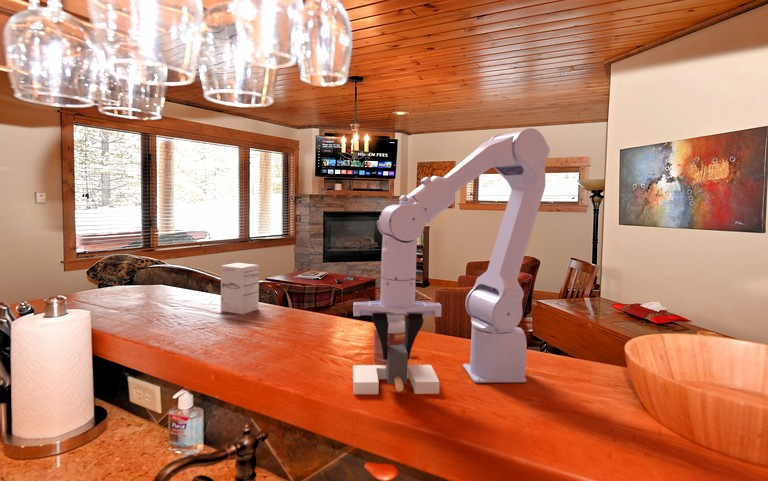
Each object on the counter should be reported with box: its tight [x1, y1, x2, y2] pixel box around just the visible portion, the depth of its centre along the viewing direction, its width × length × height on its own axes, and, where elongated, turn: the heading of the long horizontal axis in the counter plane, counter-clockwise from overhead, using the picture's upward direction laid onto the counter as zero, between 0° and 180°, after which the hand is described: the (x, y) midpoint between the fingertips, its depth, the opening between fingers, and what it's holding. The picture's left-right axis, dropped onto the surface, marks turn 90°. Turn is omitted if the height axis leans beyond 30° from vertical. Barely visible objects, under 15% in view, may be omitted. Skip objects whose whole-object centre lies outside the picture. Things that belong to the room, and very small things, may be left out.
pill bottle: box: [373, 315, 405, 365], centre depth 85 cm, size 6×6×11 cm
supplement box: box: [220, 262, 260, 315], centre depth 123 cm, size 7×7×13 cm
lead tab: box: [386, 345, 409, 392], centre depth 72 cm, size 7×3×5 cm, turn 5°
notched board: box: [352, 364, 441, 395], centre depth 77 cm, size 14×8×2 cm, turn 95°
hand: (395, 357), depth 76 cm, fingers closed on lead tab, 3 cm apart
